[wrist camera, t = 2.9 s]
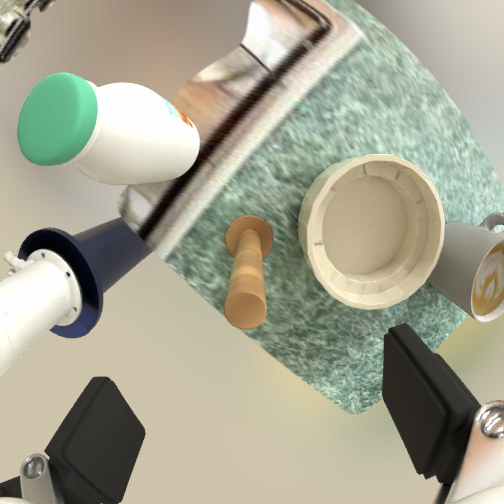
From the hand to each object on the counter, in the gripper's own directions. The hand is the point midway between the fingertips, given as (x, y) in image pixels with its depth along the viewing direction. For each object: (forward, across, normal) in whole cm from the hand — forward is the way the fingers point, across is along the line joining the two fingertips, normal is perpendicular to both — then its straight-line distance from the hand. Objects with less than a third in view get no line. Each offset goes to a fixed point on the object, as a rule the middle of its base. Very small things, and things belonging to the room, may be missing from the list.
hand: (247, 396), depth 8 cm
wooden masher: (+23, 0, 0) cm, 23 cm away
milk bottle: (+24, +7, -12) cm, 27 cm away
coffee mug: (+24, -27, +8) cm, 37 cm away
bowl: (+24, -12, +1) cm, 27 cm away
